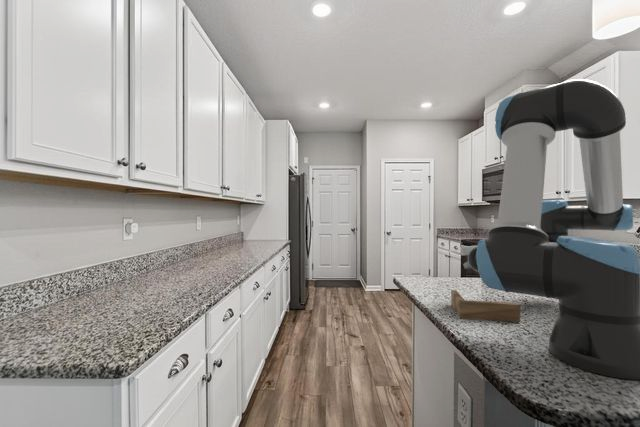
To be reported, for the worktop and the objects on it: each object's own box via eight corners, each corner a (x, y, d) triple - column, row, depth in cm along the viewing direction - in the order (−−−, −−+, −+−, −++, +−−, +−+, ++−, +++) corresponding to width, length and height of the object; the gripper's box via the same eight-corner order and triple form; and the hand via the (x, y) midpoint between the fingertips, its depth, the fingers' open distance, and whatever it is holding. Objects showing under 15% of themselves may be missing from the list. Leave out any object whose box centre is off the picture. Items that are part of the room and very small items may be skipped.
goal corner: (522, 322, 78) (522, 304, 78) (460, 318, 82) (460, 301, 82) (500, 304, 94) (500, 290, 95) (449, 301, 98) (449, 287, 98)
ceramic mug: (506, 271, 90) (505, 246, 91) (493, 274, 86) (492, 247, 86) (471, 268, 99) (470, 244, 99) (458, 270, 94) (457, 245, 94)
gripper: (567, 266, 86) (504, 271, 79) (502, 256, 106) (448, 260, 100) (566, 240, 86) (504, 243, 79) (501, 235, 106) (448, 237, 100)
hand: (473, 252), depth 89 cm, fingers closed on ceramic mug, 9 cm apart
